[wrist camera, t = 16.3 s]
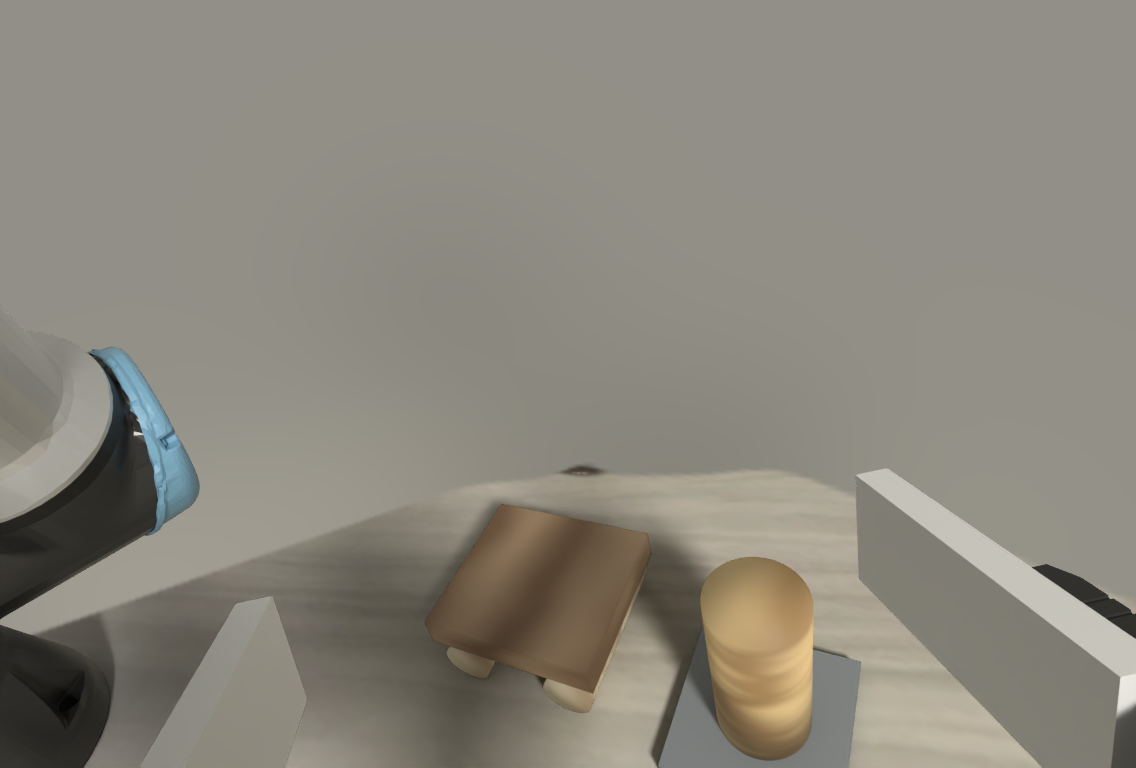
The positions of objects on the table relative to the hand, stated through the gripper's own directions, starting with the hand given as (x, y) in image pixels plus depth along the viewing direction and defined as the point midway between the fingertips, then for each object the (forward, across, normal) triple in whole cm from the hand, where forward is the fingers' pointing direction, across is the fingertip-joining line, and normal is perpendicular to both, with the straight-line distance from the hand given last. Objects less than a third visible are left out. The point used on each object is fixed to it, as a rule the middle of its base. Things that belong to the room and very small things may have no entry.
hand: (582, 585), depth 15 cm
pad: (+16, +9, -21) cm, 28 cm away
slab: (+25, -1, -20) cm, 32 cm away
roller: (+16, +9, -21) cm, 27 cm away
